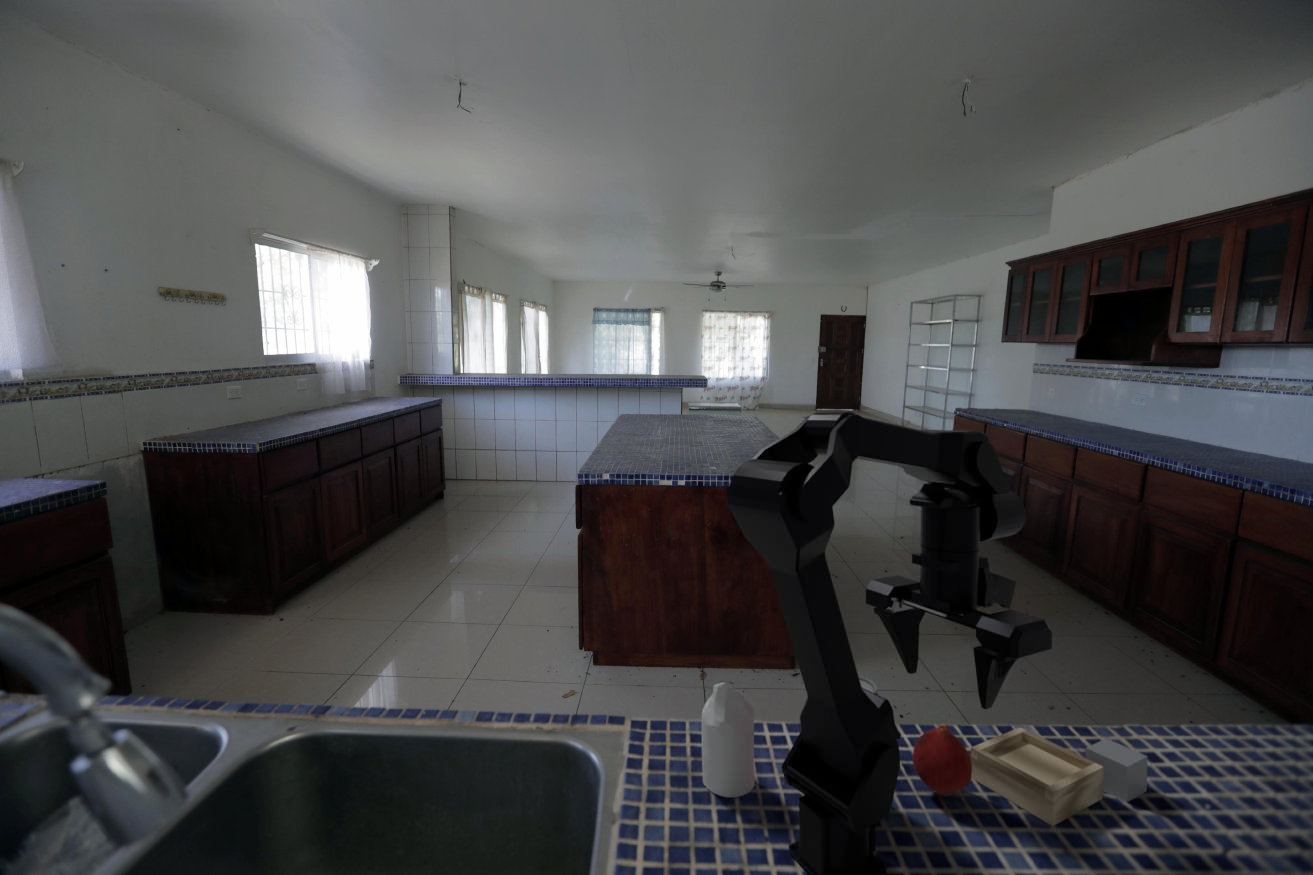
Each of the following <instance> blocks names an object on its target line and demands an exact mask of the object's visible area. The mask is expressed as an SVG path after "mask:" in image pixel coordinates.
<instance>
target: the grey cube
mask: <svg viewBox="0 0 1313 875" xmlns="http://www.w3.org/2000/svg"><path fill="white" fill-rule="evenodd" d="M1085 758H1086V759H1088V760H1090V761H1092V762H1094V763H1097V764H1099V765H1101V766H1103V767H1104V768H1103V792H1105V793H1107V794H1109V795H1111V796H1113V797H1115V798H1116V799H1119V800H1120V801H1122V802H1125V803H1126V804H1127V803H1128V802H1129V803H1130V802H1131V801H1132V800H1134V799H1136V798H1137V797H1140V795H1143V794H1144V793H1146V792H1147V791H1148V788H1147V787H1148V755H1146V754H1143V753H1140V752H1138V751H1136V750H1133V749H1131V748H1129V747H1127V746H1125V745H1122V744H1120V743H1117V742H1116V741H1113V740H1111V739H1108V738H1104V739H1101V740H1099V741H1097V742H1096V743H1093V744H1091V745H1090V746H1089V745H1088V746H1087V747H1085Z"/></svg>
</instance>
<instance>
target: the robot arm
mask: <svg viewBox="0 0 1313 875" xmlns="http://www.w3.org/2000/svg"><path fill="white" fill-rule="evenodd" d="M989 441H990V438H989V436H987V435H986V433H985V432H982V431H981V430H955V429H953V430H951V429H946V430H945V429H915V428H911V427H906V426H903V425H898V424H894V423H891V422H890V423H889V422H886V421H880V420H878V419H877V420H875V419H871V418H867V417H865V416H864V417H863V416H861V415H860V414H857V413H856V412H853V411H816V412H814V413H812V414H810V415H808V416H807V417H805V418H804V419H803V420H802V421H801V423H799V424H798V425H797V426H796V427H795V429H793V430H792V431H790V432H788V433H786V434H784V435H783V436H781V437H779V438H778V439H776V440H773V441H772V442H770V443H769V444H767V445H765V446H764V447H763V448H761V449H760V450H759V451H758V452H757V453H756V454H755V455H754V456H753V457H752V458H751V459H749V460H747V461H744V462H743V463H742V464H741V465H739V466H738V467H737V469H736V470H735V472H734V473H733V475H732V478H731V481H730V483H729V484H727V486H726V489H727V490H726V497H727V498H726V499H727V502H728V507H729V509H730V511H731V513H732V514H733V517H734V519H735V521H736V523H737V525H738V527H739V529H740V531H741V533H742V535H743V537H745V539H746V540H747V541H748V542H749V543H750V545H751V547H753V548H754V549H755V550H756V552H757V553H758V554H759V555H760V557H762V559H764V561H765V562H766V564H767V566H768V568H769V571H770V572H769V573H770V575H771V578H772V582H773V584H774V588H775V591H776V596H777V598H778V601H779V605H780V609H781V610H782V615H783V618H784V621H785V625H786V628H787V631H788V633H789V635H788V636H789V638H790V642H791V645H792V648H793V651H794V654H795V657H796V662H797V665H798V668H799V671H800V675H801V677H802V681H803V685H804V687H805V691H806V696H807V697H806V700H805V702H804V705H803V707H802V709H801V712H800V714H799V722H800V729H801V730H800V732H799V734H798V735H797V738H796V739H795V741H794V743H793V745H792V747H791V748H790V750H789V752H788V754H787V756H786V757H785V759H784V761H783V763H782V765H781V771H782V774H783V777H784V781H785V783H786V784H787V785H789V786H790V787H793V788H794V789H796V790H797V791H798V792H800V793H801V794H803V796H801V797H799V798H798V820H799V821H798V822H799V823H798V826H799V827H798V830H799V839H798V840H797V841H795V842H793V843H790V844H789V846H788V853H789V854H790V855H791V856H792V857H793V858H794V859H795V860H796V861H797V862H798V863H799V865H800V866H802V868H803V869H805V871H806V872H807V873H808V874H809V875H886V874H887V869H888V868H887V867H888V866H887V864H886V863H884V862H883V861H882V860H881V859H879V858H878V857H877V856H876V855H875V854H874V852H876V846H877V844H876V841H877V840H876V824H877V823H878V822H880V821H881V820H883V819H885V818H886V817H888V816H889V815H891V810H892V807H893V801H894V797H895V792H896V787H897V783H898V782H897V781H898V778H899V772H900V767H901V758H900V757H901V756H900V746H899V743H898V740H899V739H901V737H902V734H901V733H900V732H899V730H898V727H897V726H896V723H895V716H894V714H895V713H894V709H893V706H892V705H891V702H890V701H889V699H887V698H886V697H883V696H880V695H879V694H878V693H877V694H878V695H877V694H875V693H872V692H870V691H868V690H866V689H864V688H862V687H861V684H860V680H859V676H860V675H859V674H858V670H857V666H856V662H855V659H854V655H853V650H852V648H851V644H850V641H849V637H848V633H847V630H846V626H845V623H844V618H843V615H842V612H841V608H840V604H839V601H838V597H837V594H836V591H835V586H834V582H833V579H832V576H831V571H830V568H829V564H828V561H827V557H826V549H827V546H828V545H829V542H830V539H831V536H832V534H833V531H834V528H835V517H834V515H835V514H834V509H833V506H834V505H835V504H836V503H838V501H839V499H840V498H841V497H842V496H843V495H844V493H846V491H847V490H848V489H849V488H850V486H851V480H852V479H851V478H852V471H853V463H854V461H855V460H861V461H867V462H873V463H879V464H885V465H892V466H897V467H898V468H901V469H903V471H904V472H905V474H906V475H909V476H911V477H913V478H915V479H918V480H920V481H922V482H926V483H923V485H922V487H921V488H920V489H919V491H917V492H916V493H915V494H914V493H913V495H912V496H911V498H910V499H909V505H911V506H913V507H914V506H915V507H920V540H919V541H920V542H919V543H920V545H919V546H920V550H919V552H917V553H912V554H911V564H914V565H918V566H919V581H918V580H914V579H911V578H907V577H904V576H901V575H893V576H887V577H886V576H885V577H880V578H873V579H871V580H870V582H869V583H868V585H867V586H866V588H865V604H866V605H869V606H872V607H873V609H872V610H873V611H872V612H873V614H875V615H877V616H878V617H879V619H880V621H881V622H882V624H883V626H884V628H885V630H886V632H887V633H888V635H889V637H890V638H891V641H892V644H893V645H894V647H895V649H896V651H897V654H898V656H899V657H900V660H901V662H902V664H903V666H904V668H905V670H906V672H907V673H908V674H910V675H913V674H915V673H917V672H918V671H917V670H918V666H919V665H918V663H919V652H920V651H919V650H920V649H919V648H920V624H921V622H922V620H923V618H924V616H925V614H926V613H927V614H931V615H933V616H935V617H939V618H941V619H944V620H946V621H949V622H953V623H956V624H959V625H962V626H964V627H966V628H970V629H973V630H975V638H976V639H977V641H978V643H979V644H980V645H978V646H975V647H973V649H972V650H973V658H974V666H975V675H976V684H977V691H978V693H977V694H978V698H979V701H980V707H981V708H982V709H983V710H986V711H987V710H989V709H992V707H993V705H994V704H995V701H996V700H997V697H998V695H999V692H1000V691H1001V688H1002V686H1003V685H1004V683H1005V682H1004V681H1005V680H1006V679H1007V676H1008V674H1009V672H1010V670H1012V668H1013V666H1014V664H1015V663H1016V662H1017V661H1018V660H1019V659H1021V658H1025V657H1029V656H1032V655H1035V654H1039V653H1042V652H1046V651H1048V650H1052V648H1053V631H1052V629H1051V627H1050V625H1049V624H1048V623H1047V621H1046V620H1045V619H1043V618H1041V617H1037V616H1034V615H1030V614H1027V613H1025V612H1021V611H1017V610H1014V609H1011V606H1012V602H1013V599H1014V596H1015V592H1016V587H1017V581H1016V580H1013V579H1011V578H1008V577H1005V576H1003V575H1001V574H997V573H994V572H992V571H990V562H989V560H988V557H986V556H980V549H981V548H980V546H981V545H980V542H981V543H982V542H987V541H991V540H996V539H1000V538H1005V537H1010V536H1013V535H1015V534H1017V533H1019V532H1020V531H1021V530H1022V529H1023V527H1024V526H1025V524H1026V521H1027V516H1028V515H1027V509H1026V508H1025V505H1024V503H1023V501H1022V500H1021V498H1020V497H1019V496H1018V495H1017V494H1016V493H1015V492H1013V491H1012V490H1010V489H1011V487H1010V485H1009V480H1008V478H1006V476H1005V473H1004V471H1003V467H1002V465H1001V462H1000V460H999V457H998V454H997V453H996V452H997V451H996V450H995V447H994V445H993V444H992V443H991V442H989ZM818 456H823V458H821V460H820V461H819V462H818V463H817V464H816V465H815V466H814V465H813V464H810V463H812V462H814V461H815V460H816V459H817V457H818ZM994 604H996V605H997V604H998V605H999V606H1000V608H1005V609H1006V610H1002V611H997V612H992V613H987V612H984V611H980V610H979V608H984V609H985V608H991V607H993V606H994Z"/></svg>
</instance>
